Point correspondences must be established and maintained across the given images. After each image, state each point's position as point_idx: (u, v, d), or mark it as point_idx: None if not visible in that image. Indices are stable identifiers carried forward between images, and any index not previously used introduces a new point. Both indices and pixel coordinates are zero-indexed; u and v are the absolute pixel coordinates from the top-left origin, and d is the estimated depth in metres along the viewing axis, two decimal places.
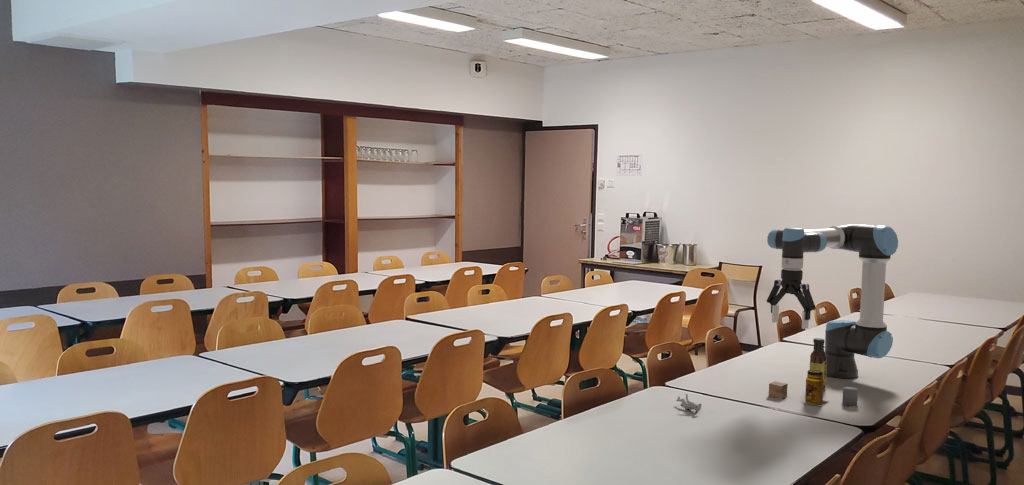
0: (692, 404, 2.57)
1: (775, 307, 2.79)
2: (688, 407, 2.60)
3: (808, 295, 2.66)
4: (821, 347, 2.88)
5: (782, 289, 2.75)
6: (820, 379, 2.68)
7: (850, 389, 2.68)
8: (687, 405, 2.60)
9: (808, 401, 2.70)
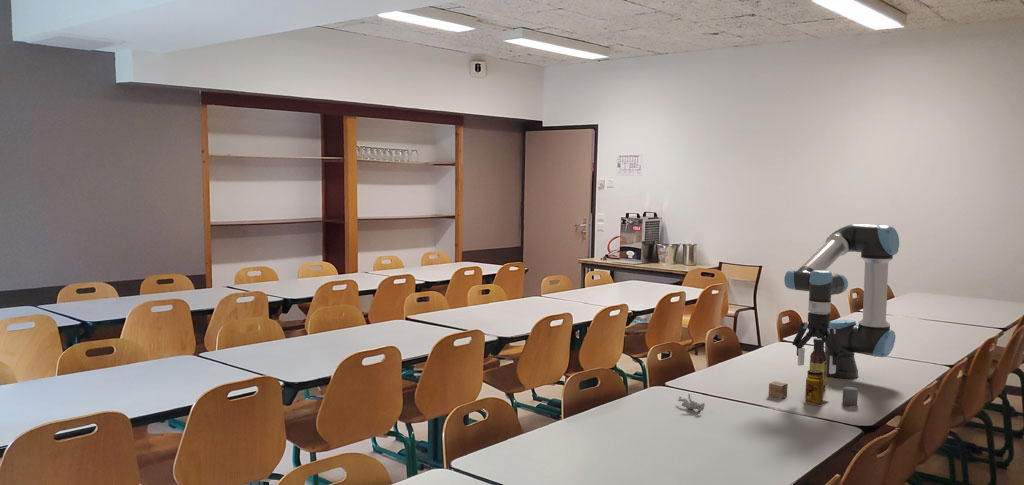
0: (695, 404, 2.58)
1: (801, 350, 2.75)
2: (691, 407, 2.60)
3: (836, 340, 2.63)
4: (821, 347, 2.88)
5: (809, 332, 2.71)
6: (820, 379, 2.68)
7: (850, 389, 2.68)
8: (690, 405, 2.60)
9: (808, 401, 2.70)
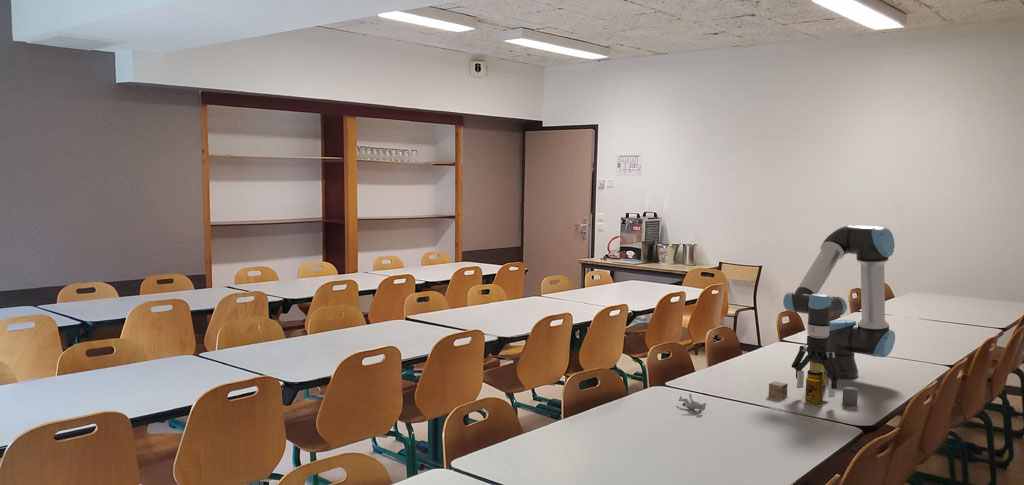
0: (696, 403, 2.58)
1: (800, 373, 2.76)
2: (692, 407, 2.60)
3: (835, 364, 2.63)
4: None
5: (808, 356, 2.72)
6: (820, 379, 2.68)
7: (850, 389, 2.68)
8: (691, 405, 2.61)
9: (808, 401, 2.70)
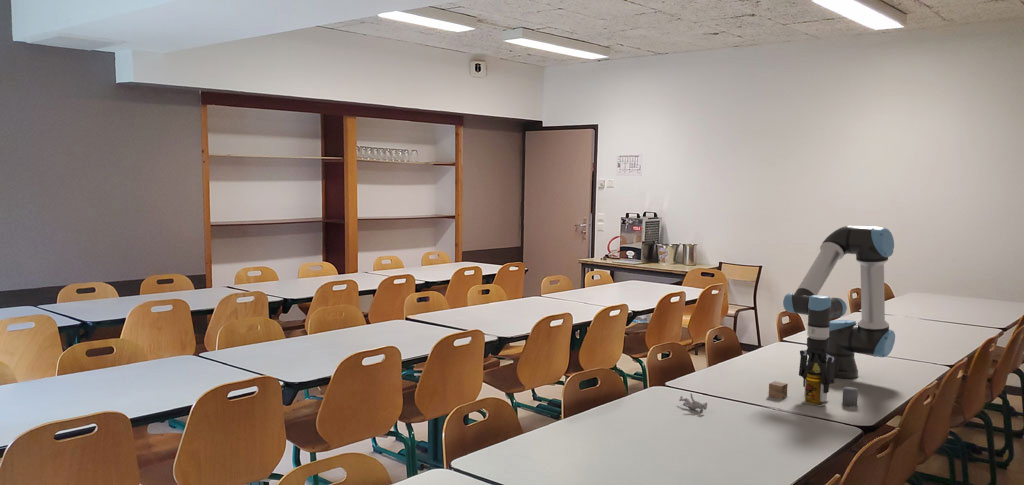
0: (698, 403, 2.58)
1: None
2: (693, 406, 2.61)
3: (831, 369, 2.65)
4: None
5: (809, 358, 2.71)
6: (820, 379, 2.68)
7: (850, 389, 2.68)
8: (692, 404, 2.61)
9: (808, 401, 2.70)
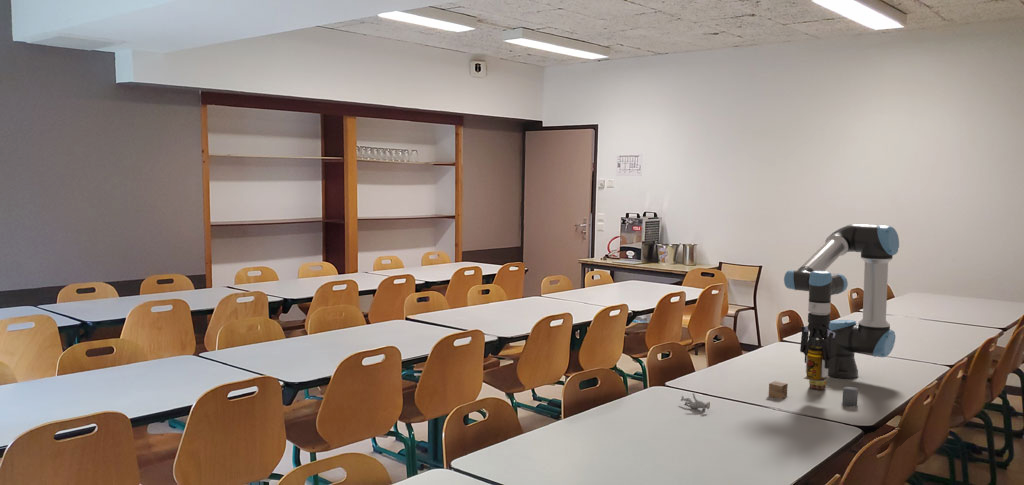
0: (701, 403, 2.59)
1: None
2: (695, 406, 2.61)
3: (832, 344, 2.64)
4: None
5: (810, 334, 2.70)
6: (821, 355, 2.67)
7: (850, 389, 2.68)
8: (694, 404, 2.61)
9: (809, 377, 2.69)
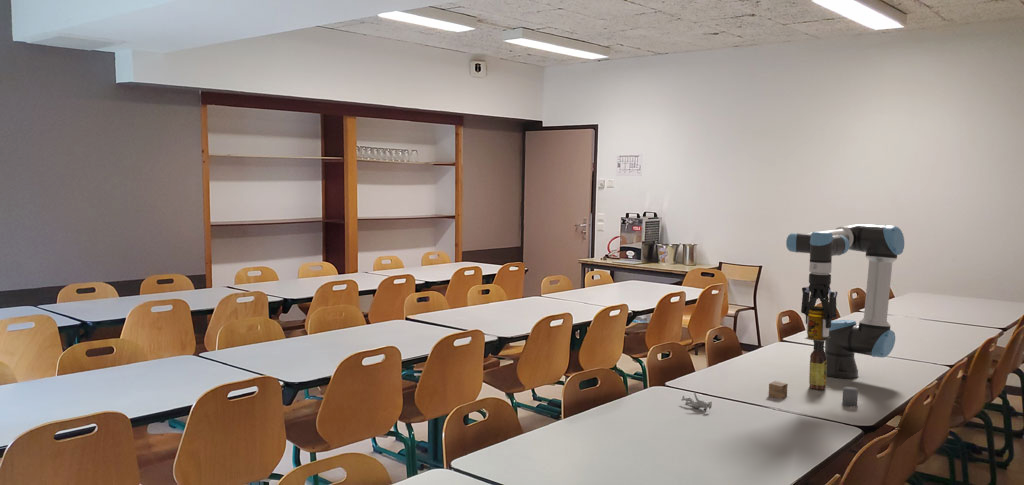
0: (702, 402, 2.59)
1: None
2: (697, 406, 2.62)
3: (833, 303, 2.65)
4: (821, 347, 2.88)
5: (811, 295, 2.72)
6: (822, 315, 2.69)
7: (850, 389, 2.68)
8: (696, 404, 2.62)
9: (810, 337, 2.70)
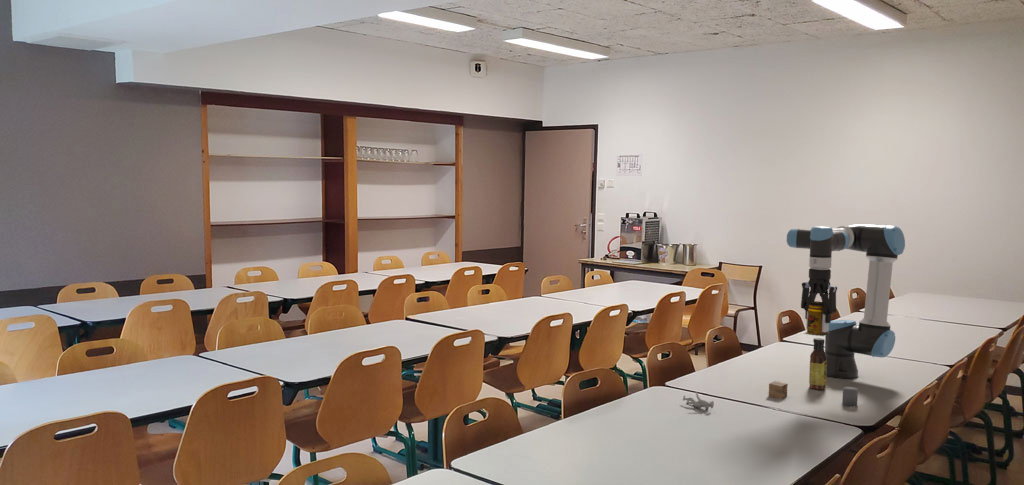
0: (704, 402, 2.60)
1: None
2: (699, 405, 2.62)
3: (833, 298, 2.66)
4: (821, 347, 2.88)
5: (811, 290, 2.72)
6: (822, 309, 2.69)
7: (850, 389, 2.68)
8: (698, 403, 2.62)
9: (810, 332, 2.71)
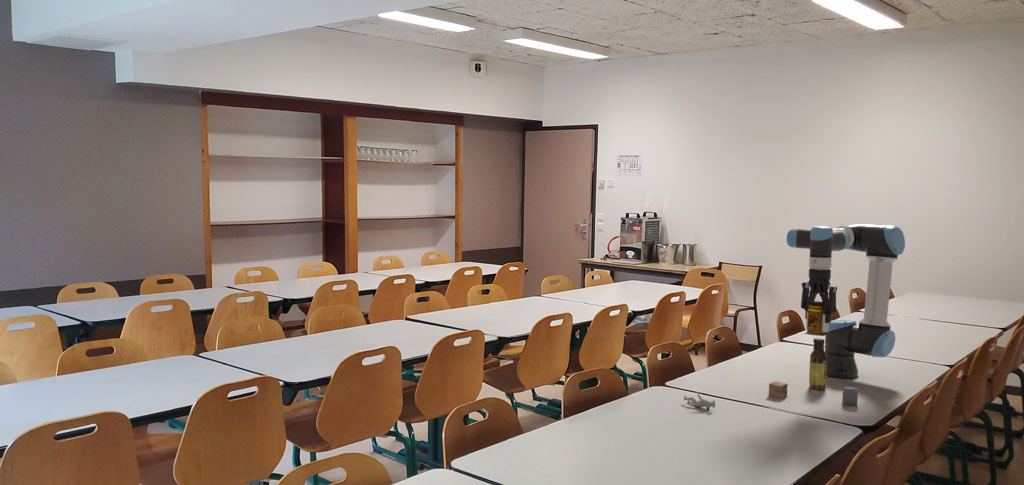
0: (706, 402, 2.60)
1: None
2: (700, 405, 2.63)
3: (833, 298, 2.66)
4: (821, 347, 2.88)
5: (811, 290, 2.72)
6: (822, 309, 2.69)
7: (850, 389, 2.68)
8: (699, 403, 2.63)
9: (810, 332, 2.71)
